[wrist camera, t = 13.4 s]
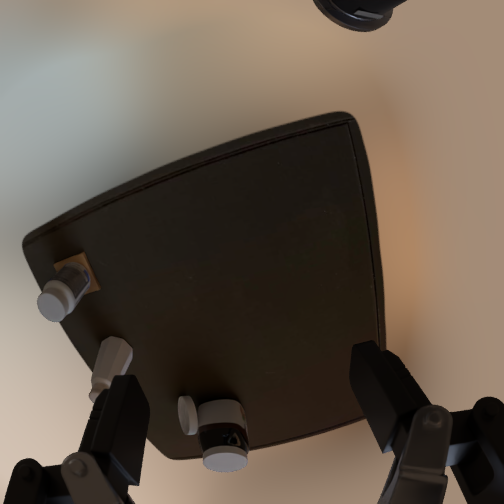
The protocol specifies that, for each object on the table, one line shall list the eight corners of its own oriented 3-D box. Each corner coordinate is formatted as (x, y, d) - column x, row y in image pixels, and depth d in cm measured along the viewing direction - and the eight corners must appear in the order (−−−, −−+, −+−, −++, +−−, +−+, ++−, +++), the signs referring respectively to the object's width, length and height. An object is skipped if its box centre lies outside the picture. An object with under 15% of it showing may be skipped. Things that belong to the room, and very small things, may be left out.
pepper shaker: (108, 329, 41) (84, 379, 31) (139, 347, 42) (123, 399, 32) (96, 351, 42) (75, 399, 32) (126, 367, 44) (110, 418, 34)
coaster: (54, 263, 36) (53, 264, 36) (84, 251, 36) (82, 253, 36) (71, 297, 39) (70, 299, 38) (101, 287, 39) (100, 289, 38)
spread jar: (249, 421, 51) (256, 472, 40) (191, 429, 51) (189, 479, 40) (235, 380, 46) (240, 437, 36) (169, 389, 46) (161, 445, 35)
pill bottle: (61, 258, 36) (31, 286, 28) (91, 264, 37) (65, 294, 29) (63, 289, 37) (37, 320, 30) (91, 295, 38) (69, 329, 30)
